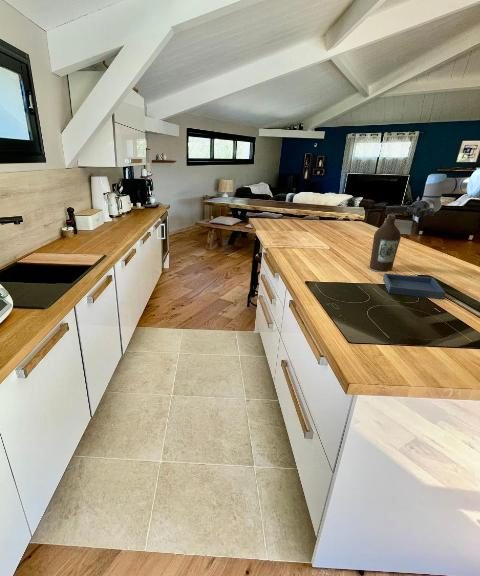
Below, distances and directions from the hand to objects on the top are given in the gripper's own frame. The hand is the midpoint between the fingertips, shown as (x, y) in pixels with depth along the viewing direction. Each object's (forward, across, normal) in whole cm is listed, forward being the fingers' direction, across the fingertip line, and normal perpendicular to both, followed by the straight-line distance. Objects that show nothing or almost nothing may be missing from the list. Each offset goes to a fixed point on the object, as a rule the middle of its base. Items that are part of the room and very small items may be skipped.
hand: (401, 212), depth 145 cm
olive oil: (+10, 0, -25) cm, 27 cm away
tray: (+27, -20, -25) cm, 42 cm away
